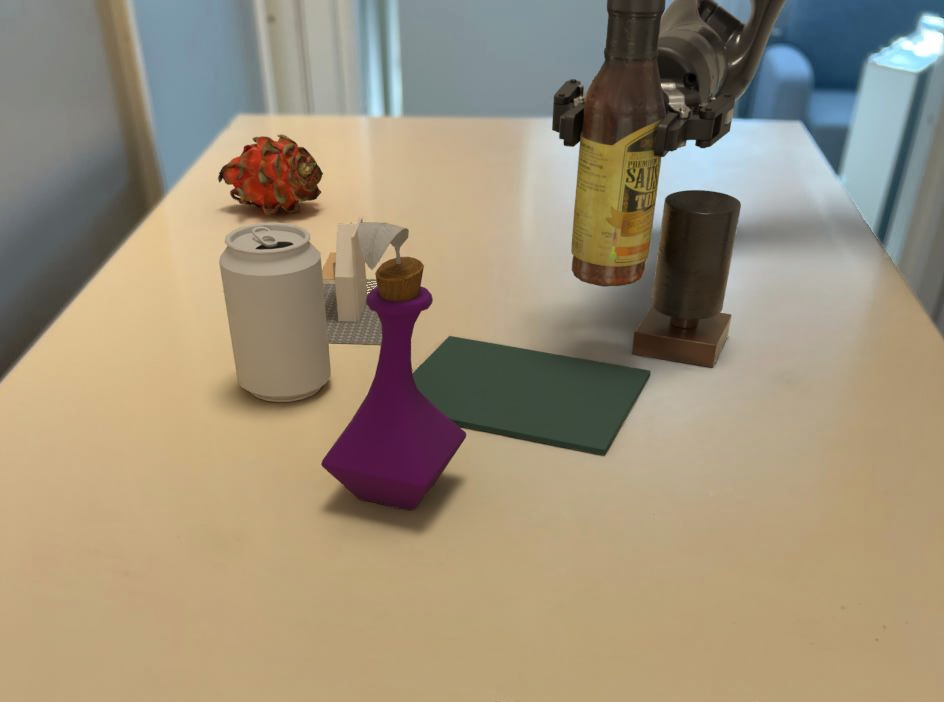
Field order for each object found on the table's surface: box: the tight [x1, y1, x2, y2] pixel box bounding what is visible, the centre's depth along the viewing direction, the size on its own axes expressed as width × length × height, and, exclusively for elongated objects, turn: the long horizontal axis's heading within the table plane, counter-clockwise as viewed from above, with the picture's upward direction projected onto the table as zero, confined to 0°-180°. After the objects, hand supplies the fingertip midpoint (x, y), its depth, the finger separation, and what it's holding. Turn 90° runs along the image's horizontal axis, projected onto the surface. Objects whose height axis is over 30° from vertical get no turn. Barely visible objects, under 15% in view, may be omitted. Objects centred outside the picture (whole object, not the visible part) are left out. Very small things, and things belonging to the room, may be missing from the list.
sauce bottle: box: [570, 0, 667, 288], centre depth 74 cm, size 7×6×20 cm
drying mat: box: [412, 335, 652, 456], centre depth 79 cm, size 18×14×1 cm
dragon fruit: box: [217, 134, 324, 217], centre depth 111 cm, size 8×8×12 cm
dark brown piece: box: [631, 189, 742, 368], centre depth 83 cm, size 7×7×12 cm
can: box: [218, 221, 332, 403], centre depth 76 cm, size 8×8×12 cm
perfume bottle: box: [320, 221, 467, 511], centre depth 62 cm, size 8×8×18 cm
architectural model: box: [322, 215, 382, 345], centre depth 90 cm, size 3×7×7 cm, turn 177°
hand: (614, 136), depth 72 cm, fingers closed on sauce bottle, 6 cm apart
